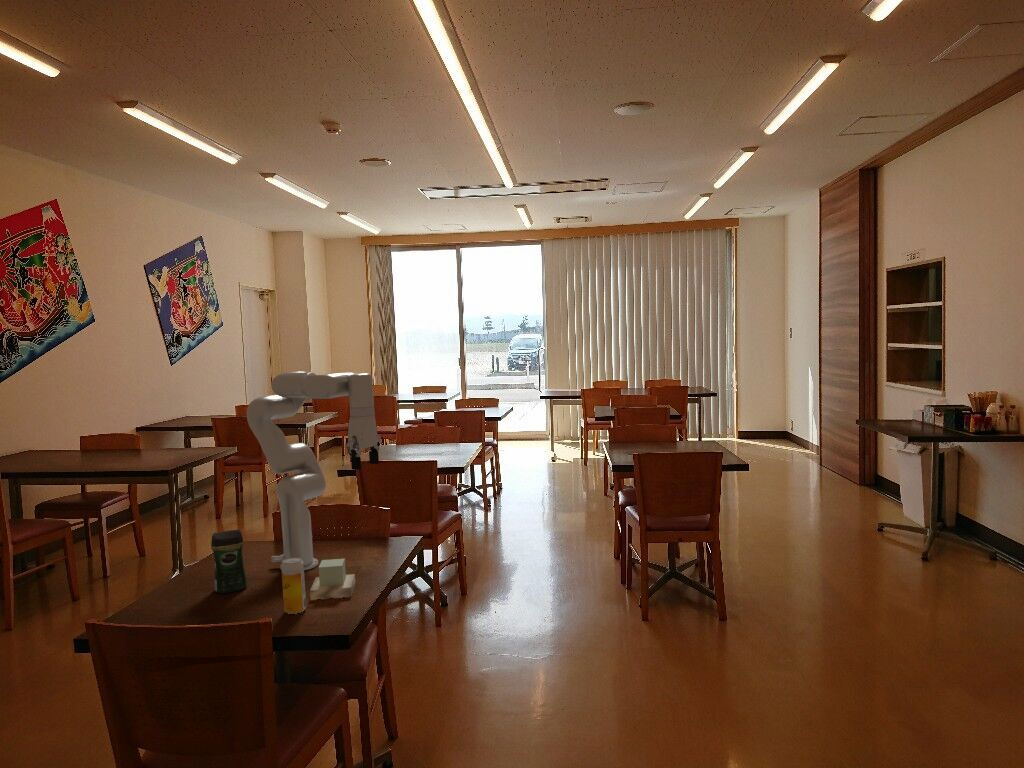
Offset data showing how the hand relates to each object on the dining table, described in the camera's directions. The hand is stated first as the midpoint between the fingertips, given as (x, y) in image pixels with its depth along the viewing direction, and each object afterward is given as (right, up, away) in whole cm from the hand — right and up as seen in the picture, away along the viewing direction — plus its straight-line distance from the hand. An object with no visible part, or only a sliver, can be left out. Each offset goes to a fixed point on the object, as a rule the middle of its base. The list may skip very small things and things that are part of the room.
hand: (365, 466), depth 233 cm
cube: (-9, -35, -7) cm, 36 cm away
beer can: (-16, -39, -21) cm, 47 cm away
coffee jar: (-42, -39, 0) cm, 57 cm away
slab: (-8, -38, -7) cm, 39 cm away
